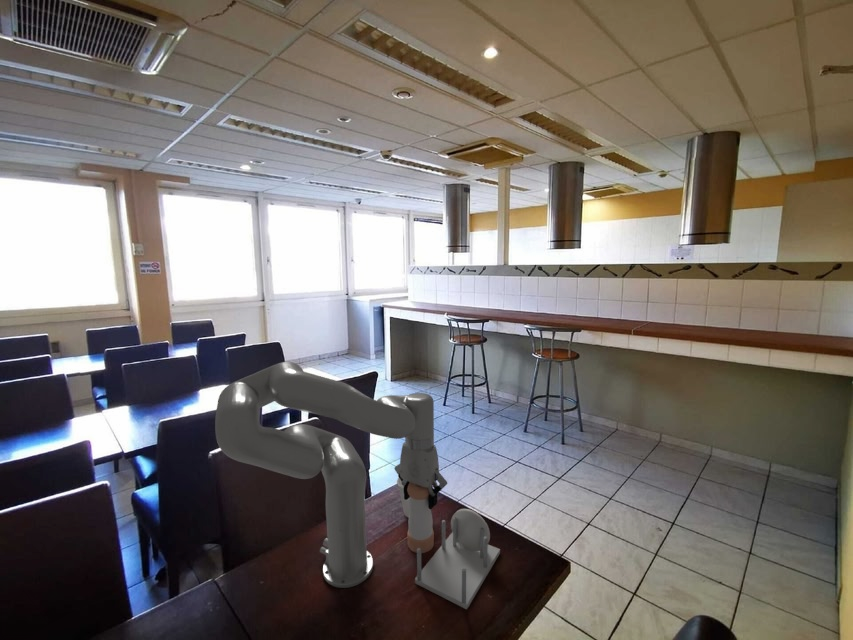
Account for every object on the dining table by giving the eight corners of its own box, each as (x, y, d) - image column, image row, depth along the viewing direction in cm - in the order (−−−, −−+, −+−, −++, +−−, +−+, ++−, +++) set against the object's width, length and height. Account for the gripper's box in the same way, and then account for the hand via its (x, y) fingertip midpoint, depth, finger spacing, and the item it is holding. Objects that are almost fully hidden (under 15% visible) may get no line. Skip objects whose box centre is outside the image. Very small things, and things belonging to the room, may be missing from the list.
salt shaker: (432, 533, 114) (432, 471, 111) (435, 552, 107) (434, 486, 103) (407, 535, 113) (406, 473, 110) (407, 554, 106) (406, 488, 103)
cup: (416, 528, 116) (415, 493, 114) (390, 515, 122) (390, 482, 120) (436, 510, 124) (435, 478, 122) (411, 499, 130) (410, 468, 128)
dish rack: (414, 583, 97) (414, 537, 95) (453, 534, 113) (453, 494, 111) (466, 609, 89) (467, 561, 87) (499, 553, 106) (501, 511, 104)
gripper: (384, 438, 106) (386, 498, 109) (441, 454, 97) (441, 520, 100) (401, 427, 113) (402, 485, 116) (455, 442, 104) (455, 504, 106)
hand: (420, 501), depth 108 cm, fingers closed on salt shaker, 7 cm apart
